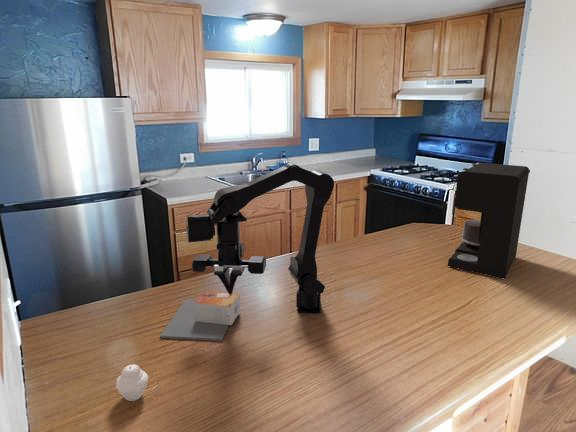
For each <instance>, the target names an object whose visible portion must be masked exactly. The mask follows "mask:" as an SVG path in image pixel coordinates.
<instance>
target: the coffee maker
mask: <svg viewBox="0 0 576 432" xmlns="http://www.w3.org/2000/svg"><path fill="white" fill-rule="evenodd" d="M530 173H531V169H529V167H528V166H525V165H514V164H513V165H512V164H499V163H487V162H476V163H472V164H471V165H470V166H468V167H463V169H462V170H461V171H460V172H458V174H457V179H456V187H455V194H454V207H455V208H456V209H457V210H461V211H467V212H476V213H481V215H480V219H468V220H467V219H466V220H464V222H463V229H462V236H461V243H460V245H458V246H457V248H456V249H455V251H454V252H453V254H452V255H451V256H450V257H449V258H448V259H447V267H448V266H450V267H449V268H451V267H455V268H459V269H458V270H460V269H463V270H462V271H464V270H468V271H467V272H469V271H473V272H472V273H474V272H478V273H482V274H481V275H483V274H487V275H491V276H490V277H492V276H495V277H494V278H496V277H499V278H498V279H501V278H504V279H503V280H505V279H506V278H507V276H508V274H507V273H509V272H508V271H510V270H511V268H512V266H513V264H514V262H515V260H516V256H517V251H518V245H519V238H520V231H521V225H522V219H523V212H524V207H525V201H526V195H527V187H528V181H529V177H530V176H529V174H530ZM465 218H466V216H465ZM514 259H515V260H514ZM513 261H514V262H513ZM512 263H513V264H512ZM511 265H512V266H511ZM510 267H511V268H510ZM455 268H454V269H455ZM509 269H510V270H509ZM478 273H477V274H478ZM487 275H486V276H487Z"/></svg>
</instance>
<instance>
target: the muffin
mask: <svg viewBox="0 0 576 432" xmlns="http://www.w3.org/2000/svg"><path fill="white" fill-rule="evenodd" d="M115 381H116V382H115V387H116V390H117V391H118V393H119V394H120V395H121V396H122V397H123V398H124V399H125V400H126V401H128V402H135V401H137V400H139V399H141V398H142V396H143V394H144V392H145V390H146V388H147V386H148V383H149V376H148V374H147V372H145V371H144V370H142V369H141V368H140V366H139V365H138V364H128V365H127V366H125V367H123V369H122V370H121V374H120V375H119V376H118V377H117V379H116V380H115Z"/></svg>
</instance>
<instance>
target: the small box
mask: <svg viewBox="0 0 576 432" xmlns="http://www.w3.org/2000/svg"><path fill="white" fill-rule="evenodd" d="M240 312H241V293H236V292H235V293H234V292H233V293H232V294H229V293H228V292H226V291H225V292H223V291H213V290H204V291H203V292H202V293H201V294H200V295H199V296H198V298H196V301H195V302H194V315H195V322H205V323H215V324H224V325H229V326H232V325H233V323H234V322H235V320H236V319H237V317H238V316H239V315H240Z"/></svg>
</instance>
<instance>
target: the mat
mask: <svg viewBox="0 0 576 432" xmlns="http://www.w3.org/2000/svg"><path fill="white" fill-rule="evenodd" d="M196 300H197V298H196V299H193V298H192V299H191V298H190V299H189V298H188V299H187V298H185V300H184V301H183V302H182V303H181V305H180V307H179V308H178V310H177V311H176V312H175V314H174V315H173V317H171V320H170V321H169V322H168V324H167V325H166V326H165V328H164V329H163V330H162V331H161V333H160V335H159V338H160V339H171V340H172V339H175V340H195V341H212V342H213V341H216V342H222V341H223V340H224V337H225V335H226V333H227V331H228V328H229V326H230V325H224V324H215V323H205V322H195V315H194V302H195V301H196Z"/></svg>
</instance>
